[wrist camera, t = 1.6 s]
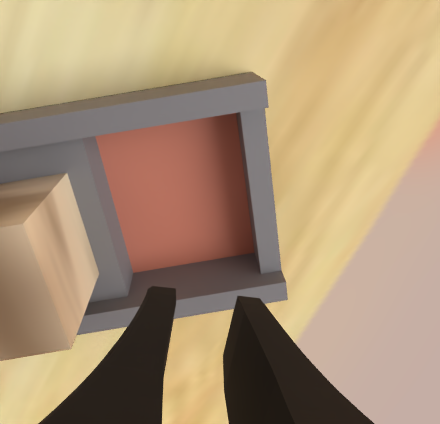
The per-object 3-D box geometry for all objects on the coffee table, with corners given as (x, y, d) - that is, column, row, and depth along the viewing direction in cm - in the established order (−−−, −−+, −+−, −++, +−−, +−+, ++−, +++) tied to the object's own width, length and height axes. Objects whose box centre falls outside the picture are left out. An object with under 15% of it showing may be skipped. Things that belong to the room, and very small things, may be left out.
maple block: (-7, 291, 19) (-68, 372, 15) (-52, 192, 17) (-140, 250, 13) (99, 273, 19) (71, 349, 15) (67, 172, 17) (22, 224, 13)
